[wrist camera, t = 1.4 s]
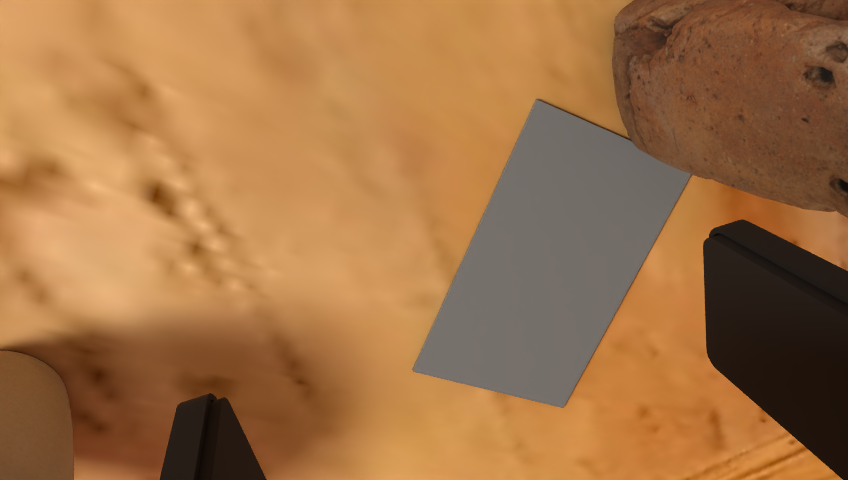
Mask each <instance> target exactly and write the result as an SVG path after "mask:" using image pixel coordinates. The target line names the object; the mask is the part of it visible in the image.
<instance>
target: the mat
mask: <svg viewBox="0 0 848 480" xmlns="http://www.w3.org/2000/svg"><path fill="white" fill-rule="evenodd" d="M690 176H691V174H689V173H686V172H684V171H681V170H679V169H676V168H674V167H672V166H669V165H667V164H665V163H663V162H661V161H659V160H657V159H655V158H653V157H652V156H650V155H648V154H647V153H645V152H643V151H641V150H639V149H638V148H637V147H636V146H635V145H634V143H633V142H632V141H630V140H628V139H625V138H623V137H621V136H619V135H616V134H614V133H612V132H610V131H607V130H605V129H603V128H601V127H598V126H596V125H594V124H591V123H589V122H587V121H585V120H582V119H580V118H578V117H576V116H573V115H571V114H569V113H567V112H564V111H562V110H560V109H558V108H555V107H553V106H551V105H548V104H546V103H544V102H542V101H539V100H537V99H536V101H535V103H534V105H533V107H532V109H531V112H530V114H529V116H528V118H527V120H526V123H525V125H524V127H523V129H522V131H521V134H520V136H519V138H518V140H517V142H516V144H515V147H514V149H513V151H512V153H511V155H510V158H509V160H508V162H507V164H506V166H505V168H504V171H503V173H502V175H501V177H500V179H499V182H498V184H497V186H496V188H495V190H494V192H493V195H492V197H491V199H490V201H489V203H488V206H487V208H486V210H485V212H484V214H483V217H482V219H481V221H480V223H479V225H478V227H477V230H476V232H475V234H474V236H473V238H472V241H471V243H470V245H469V247H468V249H467V251H466V254H465V256H464V258H463V260H462V262H461V265H460V267H459V269H458V271H457V273H456V275H455V278H454V280H453V282H452V284H451V286H450V289H449V291H448V293H447V295H446V297H445V300H444V302H443V304H442V306H441V308H440V310H439V313H438V315H437V317H436V319H435V321H434V324H433V326H432V328H431V330H430V332H429V334H428V337H427V339H426V341H425V343H424V345H423V348H422V350H421V352H420V354H419V356H418V359H417V361H416V363H415V365H414V367H413V372H417V373H421V374H425V375H429V376H433V377H438V378H442V379H446V380H450V381H454V382H458V383H462V384H466V385H471V386H475V387H479V388H483V389H487V390H491V391H495V392H499V393H503V394H508V395H512V396H516V397H520V398H524V399H528V400H532V401H536V402H541V403H545V404H549V405H553V406H557V407H561V408H564V406H565V404H566V402H567V400H568V398H569V397H570V395H571V393H572V391H573V389H574V388H575V386H576V384H577V382H578V380H579V378H580V377H581V375H582V373H583V371H584V369H585V367H586V366H587V364H588V362H589V360H590V358H591V357H592V355H593V353H594V351H595V349H596V347H597V346H598V344H599V342H600V340H601V338H602V336H603V335H604V333H605V331H606V329H607V327H608V325H609V324H610V322H611V320H612V318H613V316H614V315H615V313H616V311H617V309H618V307H619V305H620V304H621V302H622V300H623V298H624V296H625V294H626V293H627V291H628V289H629V287H630V285H631V284H632V282H633V280H634V278H635V276H636V274H637V273H638V271H639V269H640V267H641V265H642V263H643V262H644V260H645V258H646V256H647V254H648V252H649V251H650V249H651V247H652V245H653V243H654V242H655V240H656V238H657V236H658V234H659V232H660V231H661V229H662V227H663V225H664V223H665V221H666V220H667V218H668V216H669V214H670V212H671V211H672V209H673V207H674V205H675V203H676V201H677V200H678V198H679V196H680V194H681V192H682V190H683V189H684V187H685V185H686V183H687V181H688V180H689V178H690Z"/></svg>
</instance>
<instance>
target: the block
mask: <svg viewBox="0 0 848 480" xmlns="http://www.w3.org/2000/svg"><path fill="white" fill-rule="evenodd" d="M614 27H615V38H614V46H613V57H612V68H613V77H614V84H615V92H616V99H617V104H618V107H619V111H620V114H621V117H622V120H623V123H624V125H625V127H626V129H627V131H628V136H629V137H630V139H631V140H632V142H633V143H634V145H635V146H636V147H637V148H638V149H639V150H641V151H643V152H645V153H647V154H648V155H650V156H652V157H653V158H655V159H657V160H659V161H661V162H663V163H665V164H667V165H669V166H672V167H674V168H676V169H679V170H681V171H684V172H686V173H689V174H692V175H695V176H698V177H702V178H705V179H713V180H715V181H717V182H719V183H722V184H725V185H727V186H730V187H733V188H736V189H739V190H742V191H745V192H748V193H750V194H753V195H757V196H760V197H762V198H766V199H771V200H776V201H779V202H781V203H785V204H788V205H791V206H796V207H799V208H802V209H808V210H817V211H826V212H832V211H837V212H839V213H840V214H842V215H844V216H845V217H847V218H848V0H634V1H632V2H631V3H630V4H628V5H627V6H626V7H625V8H623V9H622V10H621V11H620V12H619V14H618V15H617V16H616V19H615V24H614Z"/></svg>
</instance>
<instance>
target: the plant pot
mask: <svg viewBox="0 0 848 480" xmlns="http://www.w3.org/2000/svg"><path fill="white" fill-rule="evenodd" d="M0 480H74V438H73V425H72V417H71V410H70V404H69V398H68V393H67V389H66V387H65V384H64V382H63V381H62V379H61V378H60V376H59V375H58V374H57V373H56V372H55V371H54V370H53V369H52V368H51V367H50V366H49V365H47V364H46V363H44V362H42V361H40V360H39V359H37V358H34V357H32V356H29V355H26V354H23V353H18V352H12V351H0Z"/></svg>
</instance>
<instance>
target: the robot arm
mask: <svg viewBox="0 0 848 480" xmlns="http://www.w3.org/2000/svg"><path fill="white" fill-rule="evenodd" d="M703 256H704V286H705V317H706V348H707V354H708V357H709V359H710V361H711V363H712V364H713V366H714V367H715V368H716V369H717V370H718V371H719V372H720V373H722V374H723V375H724V376H725V377H726V378H727V379H728V380H730V381H731V382H732V383H733V384H734V385H735V386H736V387H738V388H739V389H740V390H741V391H742V392H743V393H744V394H746V395H747V396H748V397H749V398H750V399H751V400H752V401H754V402H755V403H756V404H757V405H758V406H759V407H760V408H762V409H763V410H764V411H765V412H766V413H767V414H768V415H770V416H771V417H772V418H773V419H774V420H775V421H776V422H778V423H779V424H780V425H781V426H782V427H783V428H784V429H786V430H787V431H788V432H789V433H790V434H791V435H792V436H794V437H795V438H796V439H797V440H798V441H799V442H800V443H802V444H803V445H804V446H805V447H806V448H807V449H809V450H810V451H811V452H812V453H813V454H814V455H815V456H817V457H818V458H819V459H820V460H821V461H822V462H823V463H825V464H826V465H827V466H828V467H829V468H830V469H831V470H833V471H834V472H835V473H836V474H837V475H838V476H839V477H841V478H842V479H843V480H848V271H846V270H844V269H842V268H840V267H838V266H836V265H834V264H832V263H830V262H828V261H826V260H824V259H822V258H820V257H818V256H816V255H814V254H812V253H810V252H808V251H806V250H804V249H802V248H800V247H798V246H796V245H794V244H792V243H790V242H788V241H786V240H784V239H782V238H780V237H778V236H776V235H774V234H772V233H770V232H768V231H766V230H764V229H762V228H760V227H758V226H756V225H754V224H752V223H750V222H748V221H746V220H738V221H735V222H732V223H729V224H726V225H722V226H719V227H716V228H714V229H712V230H711V232H710V234H709V238H707V239H706V240H705V241H704V244H703ZM160 480H266V478H265V476H264V474H263V472H262V469H261V467H260V465H259V463H258V461H257V459H256V457H255V455H254V453H253V451H252V449H251V446H250V444H249V442H248V440H247V438H246V436H245V434H244V432H243V430H242V428H241V426H240V423H239V421H238V419H237V417H236V415H235V413H234V411H233V409H232V407H231V405H230V403H229V401H228V400H227V398H225V397H224V398H221V399H218V400H217V398H216V397H215V396H214V395H213V394H211V393H210V394H207V395H204V396H201V397H198V398H195V399H192V400H189V401H186V402H183V403H180V404H179V405H178V406H177V409H176V413H175V417H174V421H173V426H172V430H171V434H170V438H169V442H168V447H167V451H166V455H165V459H164V464H163V468H162V472H161V476H160Z"/></svg>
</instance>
